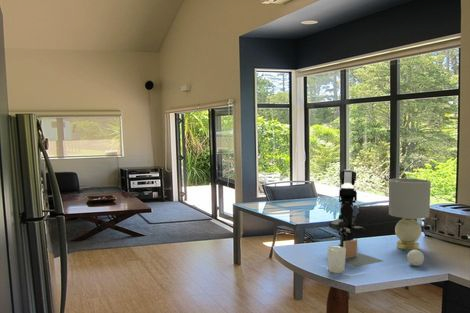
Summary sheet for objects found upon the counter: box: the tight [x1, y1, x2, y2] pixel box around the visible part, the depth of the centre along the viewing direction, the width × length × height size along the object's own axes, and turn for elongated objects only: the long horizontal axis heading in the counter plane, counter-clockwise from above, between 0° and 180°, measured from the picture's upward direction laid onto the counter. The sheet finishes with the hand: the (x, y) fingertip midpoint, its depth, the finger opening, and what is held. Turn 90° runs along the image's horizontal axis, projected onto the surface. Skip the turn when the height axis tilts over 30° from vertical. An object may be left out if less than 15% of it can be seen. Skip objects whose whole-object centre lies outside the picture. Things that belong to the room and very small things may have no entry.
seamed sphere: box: [406, 249, 425, 267], centre depth 219 cm, size 10×7×7 cm
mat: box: [345, 252, 384, 267], centre depth 227 cm, size 16×18×1 cm
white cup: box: [327, 245, 346, 274], centre depth 210 cm, size 8×8×10 cm
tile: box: [343, 238, 358, 258], centre depth 231 cm, size 1×8×8 cm, turn 121°
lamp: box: [388, 177, 432, 251], centre depth 251 cm, size 20×20×35 cm
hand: (346, 245), depth 233 cm, fingers closed
